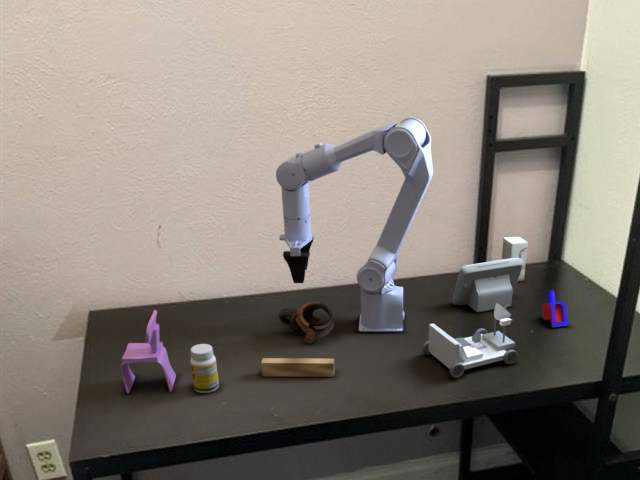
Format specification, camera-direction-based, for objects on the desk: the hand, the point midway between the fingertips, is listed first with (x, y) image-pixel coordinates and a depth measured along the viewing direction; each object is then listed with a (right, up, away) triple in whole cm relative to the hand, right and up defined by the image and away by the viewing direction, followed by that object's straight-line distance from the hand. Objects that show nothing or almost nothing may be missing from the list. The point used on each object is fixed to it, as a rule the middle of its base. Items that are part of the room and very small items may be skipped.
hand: (300, 275), depth 172 cm
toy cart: (+36, -19, -14) cm, 43 cm away
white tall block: (+51, +2, +22) cm, 56 cm away
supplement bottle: (-16, -25, -23) cm, 37 cm away
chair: (-27, -24, -22) cm, 42 cm away
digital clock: (+42, -5, +10) cm, 44 cm away
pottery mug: (+2, -13, -4) cm, 14 cm away
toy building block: (+56, -10, +1) cm, 57 cm away
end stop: (+1, -22, -19) cm, 29 cm away
